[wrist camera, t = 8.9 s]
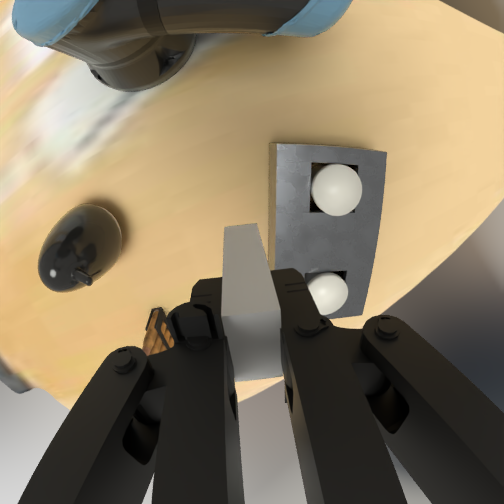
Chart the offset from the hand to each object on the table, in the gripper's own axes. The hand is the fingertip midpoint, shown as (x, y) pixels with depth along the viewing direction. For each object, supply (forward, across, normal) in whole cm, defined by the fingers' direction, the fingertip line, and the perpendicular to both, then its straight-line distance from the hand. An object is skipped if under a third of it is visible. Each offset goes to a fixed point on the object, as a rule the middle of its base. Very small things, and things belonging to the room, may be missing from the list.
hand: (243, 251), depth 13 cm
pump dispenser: (+24, -21, -5) cm, 33 cm away
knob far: (+24, +10, -16) cm, 30 cm away
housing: (+24, +11, -9) cm, 28 cm away
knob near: (+24, +11, -2) cm, 27 cm away
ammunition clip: (+24, -15, -25) cm, 37 cm away
